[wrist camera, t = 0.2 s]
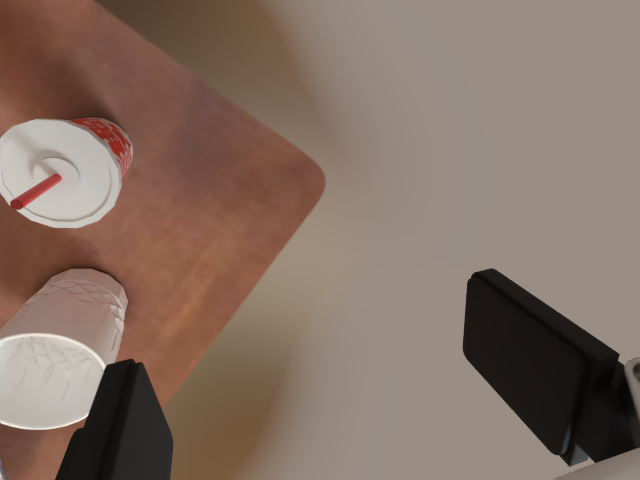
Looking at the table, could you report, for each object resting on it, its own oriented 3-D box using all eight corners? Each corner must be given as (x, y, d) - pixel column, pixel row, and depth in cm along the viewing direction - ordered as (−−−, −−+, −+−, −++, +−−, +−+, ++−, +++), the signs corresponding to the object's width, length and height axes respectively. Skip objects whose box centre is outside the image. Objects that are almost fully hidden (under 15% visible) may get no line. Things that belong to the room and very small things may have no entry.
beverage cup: (138, 195, 31) (90, 276, 18) (50, 178, 28) (-72, 257, 16) (149, 119, 29) (103, 152, 16) (56, 95, 27) (-79, 112, 14)
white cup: (37, 252, 30) (-34, 325, 21) (142, 270, 33) (118, 341, 24) (28, 333, 33) (-40, 428, 24) (127, 343, 35) (100, 431, 27)
